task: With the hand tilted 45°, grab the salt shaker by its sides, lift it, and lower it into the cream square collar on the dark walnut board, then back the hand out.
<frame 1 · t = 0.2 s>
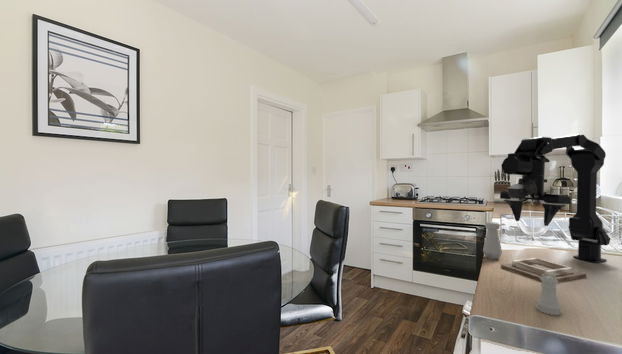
hand: (531, 223, 93), 14 cm above the counter, tool pointing down, fingers open, 9 cm apart
collar board: (541, 272, 88), on the counter
rook chess piece: (548, 312, 63), on the counter
salt shaker: (492, 258, 103), on the counter
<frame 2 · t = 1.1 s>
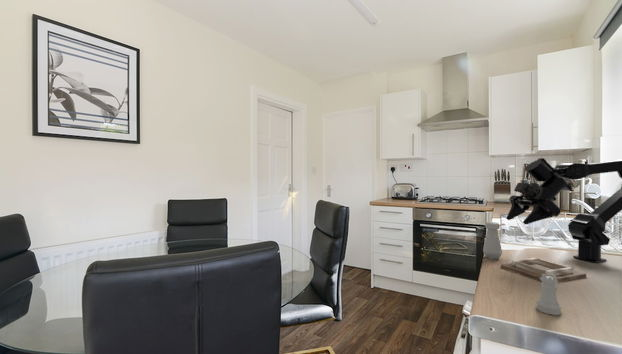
hand: (515, 221, 102), 13 cm above the counter, tool tilted 45°, fingers open, 9 cm apart
nothing on the counter moved.
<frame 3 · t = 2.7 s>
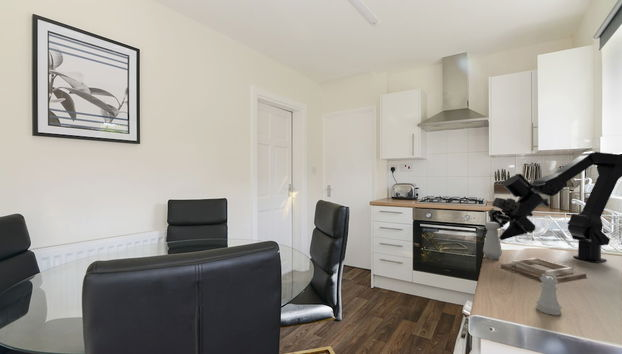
hand: (492, 236, 103), 8 cm above the counter, tool tilted 45°, fingers open, 9 cm apart
nothing on the counter moved.
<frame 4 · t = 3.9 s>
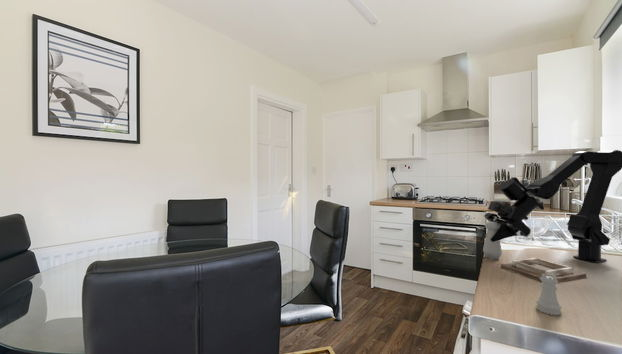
hand: (488, 239, 103), 7 cm above the counter, tool tilted 45°, fingers closed on salt shaker, 3 cm apart
salt shaker: (492, 258, 103), on the counter, touching gripper
everything else where it was.
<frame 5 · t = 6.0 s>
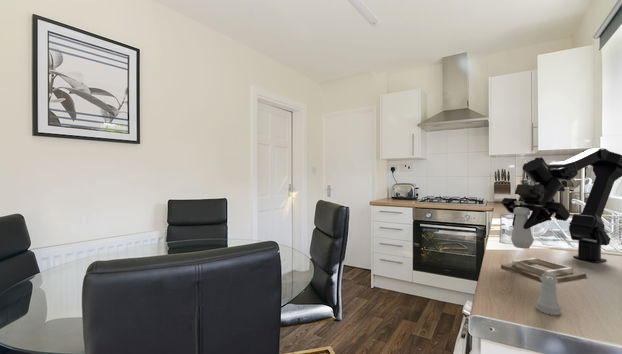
hand: (518, 227, 92), 13 cm above the counter, tool tilted 45°, fingers closed on salt shaker, 3 cm apart
salt shaker: (521, 247, 92), point 6 cm above the counter, touching gripper
everything else where it was.
when the fingers open (9 cm above the counter, at t = 8.2 s): salt shaker drops 1 cm, resting on collar board.
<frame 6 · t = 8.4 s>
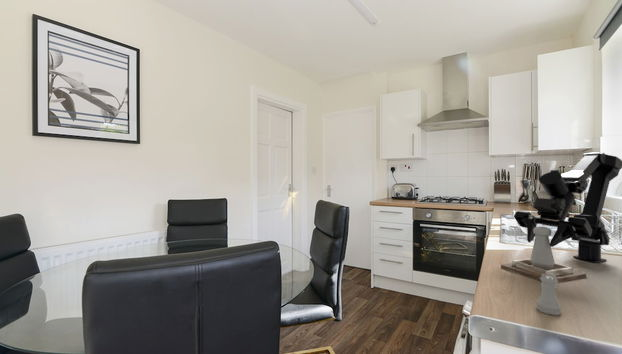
hand: (539, 243, 87), 9 cm above the counter, tool tilted 45°, fingers open, 6 cm apart
salt shaker: (542, 269, 88), point 1 cm above the counter, touching collar board
everything else where it was.
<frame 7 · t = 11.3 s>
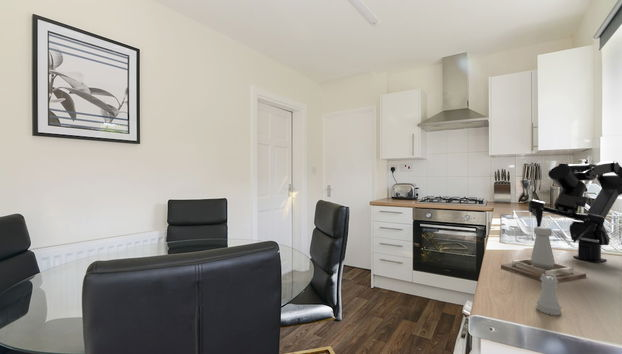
hand: (555, 236, 92), 10 cm above the counter, tool tilted 35°, fingers open, 9 cm apart
nothing on the counter moved.
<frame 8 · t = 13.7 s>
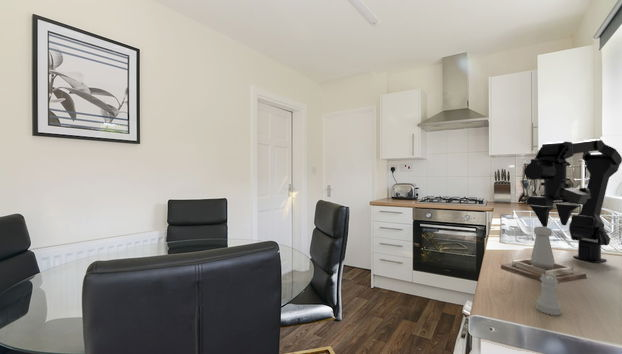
hand: (554, 226, 95), 13 cm above the counter, tool pointing down, fingers open, 9 cm apart
nothing on the counter moved.
at the end: salt shaker 0.3 cm from the collar board (horizontally); salt shaker point 0.8 cm above the counter; salt shaker tilted 0° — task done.
